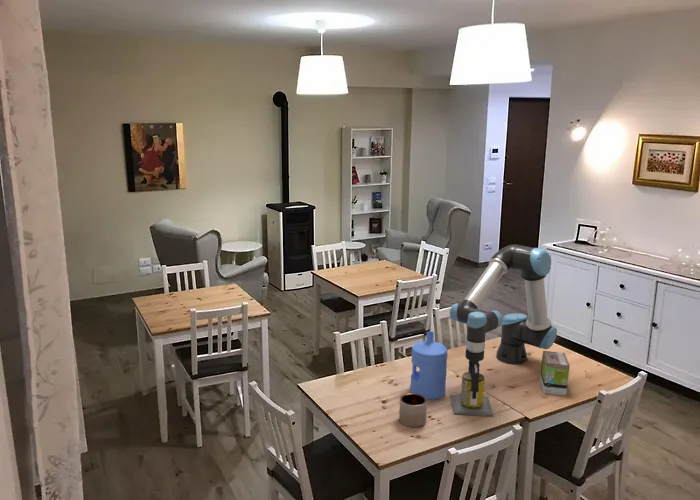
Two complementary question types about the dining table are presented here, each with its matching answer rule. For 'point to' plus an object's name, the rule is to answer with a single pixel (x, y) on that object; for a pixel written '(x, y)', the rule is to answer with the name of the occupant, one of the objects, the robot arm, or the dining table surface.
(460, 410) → the plate
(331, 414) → the dining table surface
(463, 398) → the beverage can
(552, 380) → the tea box
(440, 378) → the water jug
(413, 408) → the planter
